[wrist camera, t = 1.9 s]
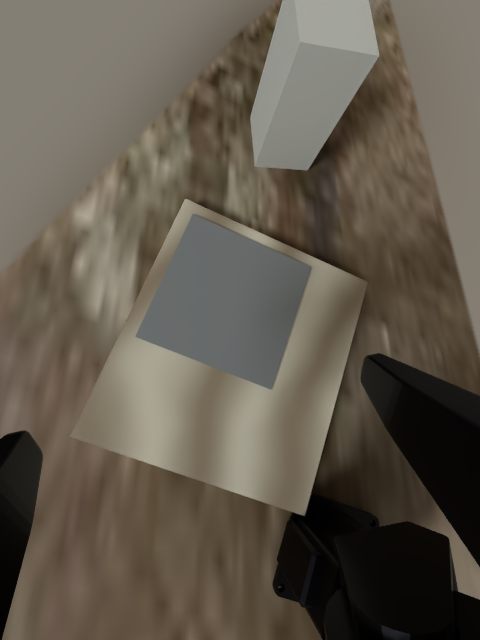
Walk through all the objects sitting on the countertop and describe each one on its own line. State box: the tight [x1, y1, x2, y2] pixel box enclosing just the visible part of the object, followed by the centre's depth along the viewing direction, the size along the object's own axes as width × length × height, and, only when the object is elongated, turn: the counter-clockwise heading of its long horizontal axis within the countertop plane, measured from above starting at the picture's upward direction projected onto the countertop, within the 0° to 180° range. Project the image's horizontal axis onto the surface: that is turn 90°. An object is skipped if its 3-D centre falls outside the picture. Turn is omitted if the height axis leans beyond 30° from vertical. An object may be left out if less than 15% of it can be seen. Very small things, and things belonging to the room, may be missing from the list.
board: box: [70, 199, 368, 516], centre depth 22 cm, size 16×18×2 cm
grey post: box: [250, 0, 379, 170], centre depth 22 cm, size 5×5×10 cm
